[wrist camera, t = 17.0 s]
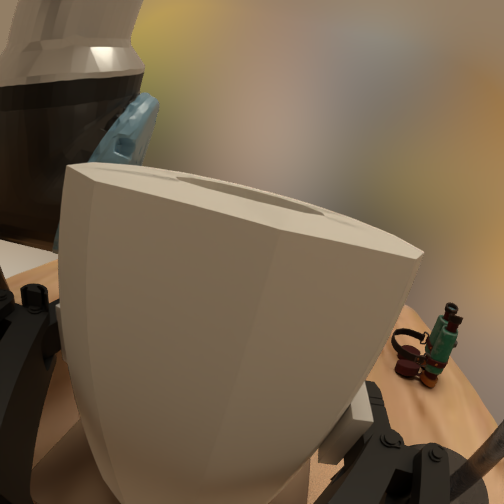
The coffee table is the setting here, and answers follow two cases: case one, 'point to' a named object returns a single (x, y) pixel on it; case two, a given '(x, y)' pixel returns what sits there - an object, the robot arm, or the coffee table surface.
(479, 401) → the coffee table surface
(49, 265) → the coffee table surface
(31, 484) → the cutting board
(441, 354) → the binoculars
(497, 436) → the disc
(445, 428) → the coffee table surface
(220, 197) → the towel roll
